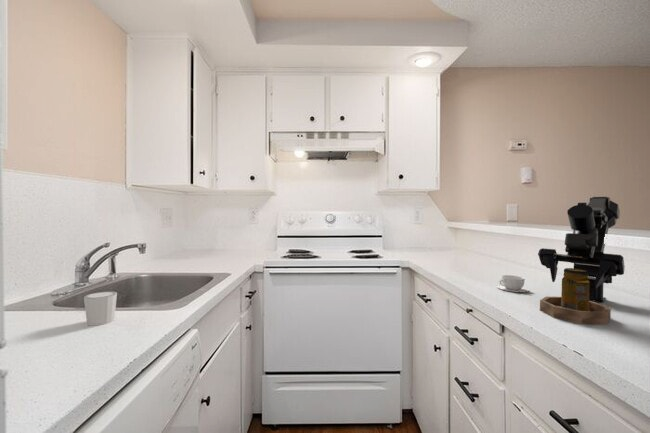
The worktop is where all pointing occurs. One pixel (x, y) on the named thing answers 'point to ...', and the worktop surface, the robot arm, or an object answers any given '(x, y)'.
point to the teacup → (512, 283)
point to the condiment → (575, 289)
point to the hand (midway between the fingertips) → (573, 284)
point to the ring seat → (576, 312)
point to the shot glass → (100, 308)
